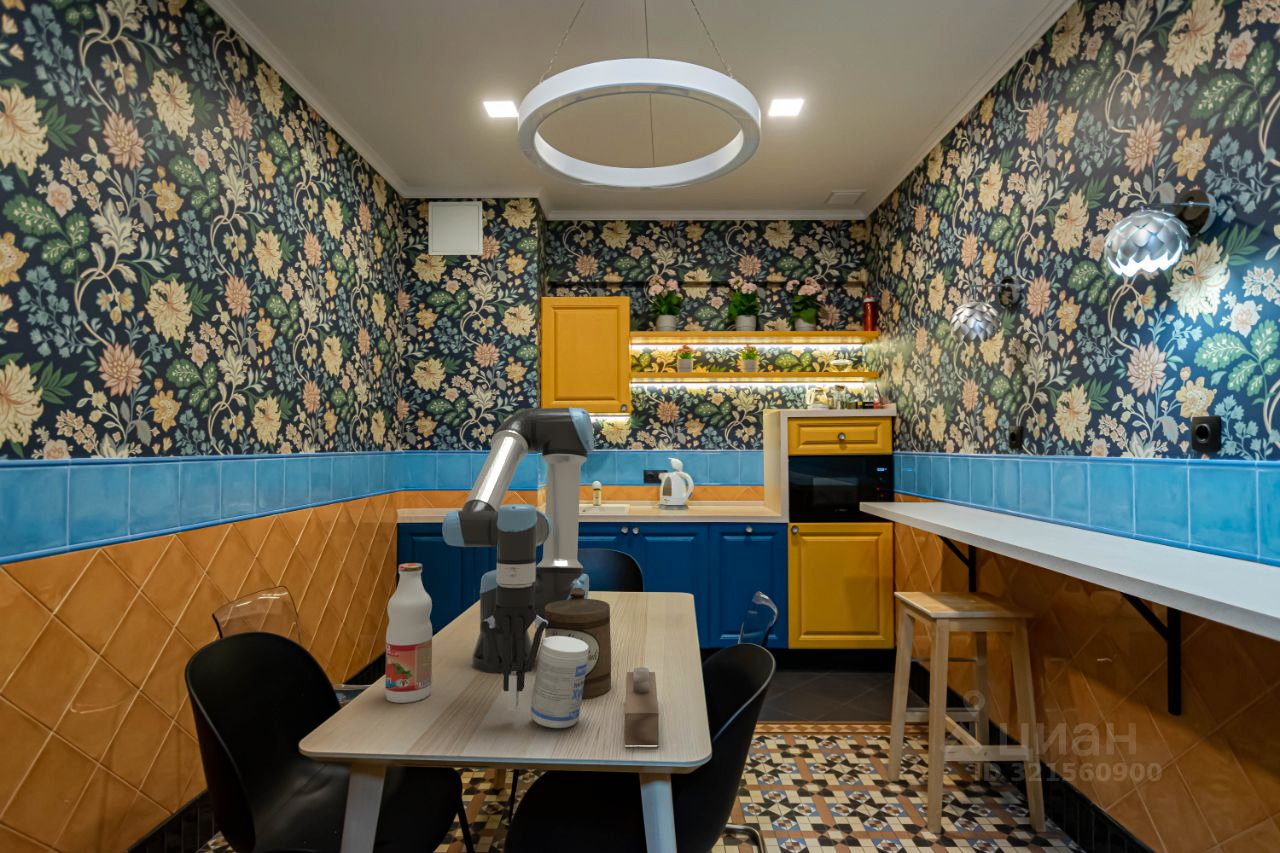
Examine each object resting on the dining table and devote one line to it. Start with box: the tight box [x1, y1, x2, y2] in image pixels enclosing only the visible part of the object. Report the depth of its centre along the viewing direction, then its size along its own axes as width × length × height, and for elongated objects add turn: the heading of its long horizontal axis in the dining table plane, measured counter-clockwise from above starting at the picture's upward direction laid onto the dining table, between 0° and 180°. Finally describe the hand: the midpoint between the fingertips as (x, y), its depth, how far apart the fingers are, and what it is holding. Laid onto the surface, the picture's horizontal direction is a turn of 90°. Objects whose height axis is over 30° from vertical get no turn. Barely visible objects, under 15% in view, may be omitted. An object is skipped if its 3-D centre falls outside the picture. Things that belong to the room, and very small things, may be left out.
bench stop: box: [624, 666, 660, 746], centre depth 127 cm, size 6×22×10 cm, turn 0°
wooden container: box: [544, 588, 612, 700], centre depth 147 cm, size 15×15×22 cm
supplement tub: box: [529, 636, 589, 729], centre depth 127 cm, size 10×10×15 cm
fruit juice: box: [384, 562, 433, 704], centre depth 142 cm, size 9×9×28 cm
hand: (513, 707), depth 126 cm, fingers closed
